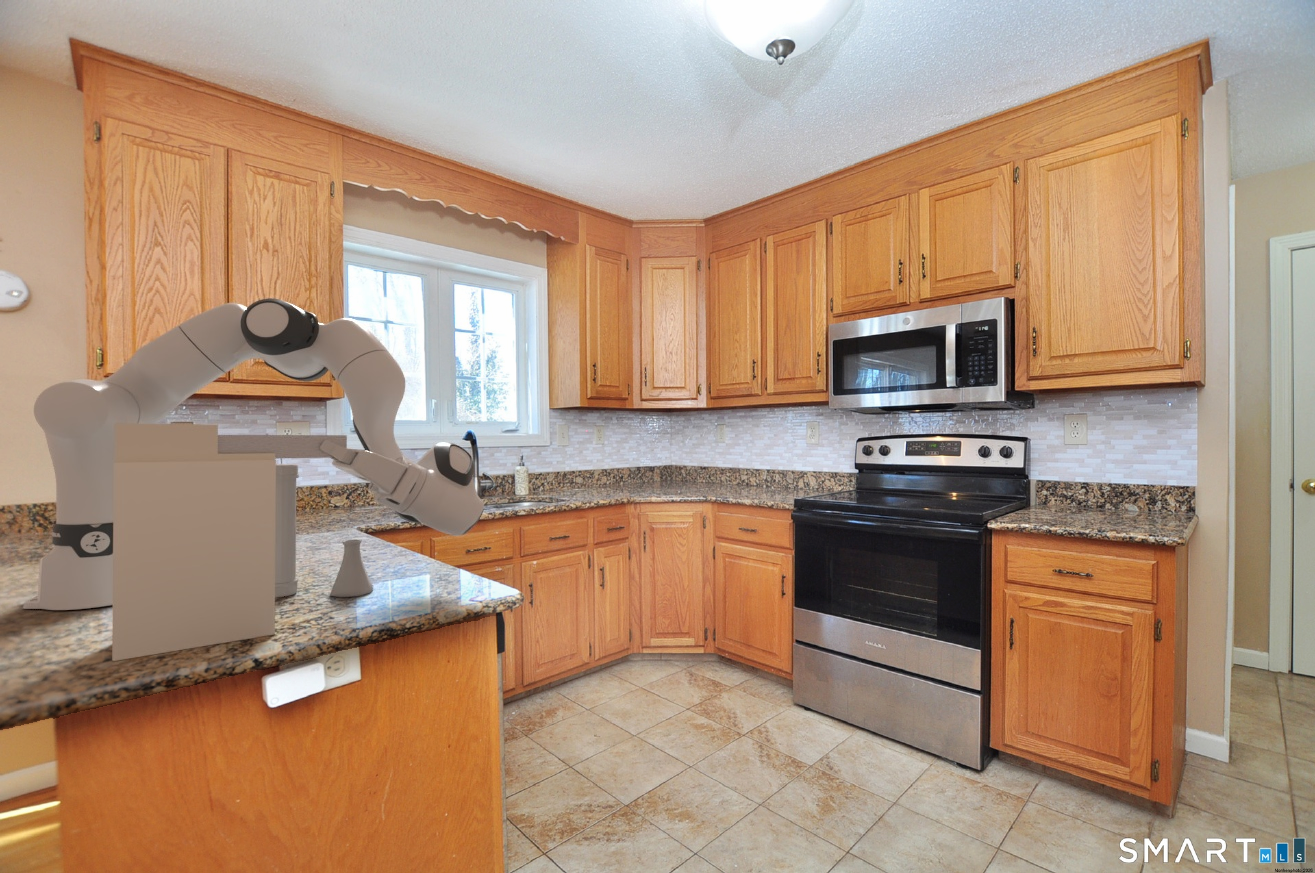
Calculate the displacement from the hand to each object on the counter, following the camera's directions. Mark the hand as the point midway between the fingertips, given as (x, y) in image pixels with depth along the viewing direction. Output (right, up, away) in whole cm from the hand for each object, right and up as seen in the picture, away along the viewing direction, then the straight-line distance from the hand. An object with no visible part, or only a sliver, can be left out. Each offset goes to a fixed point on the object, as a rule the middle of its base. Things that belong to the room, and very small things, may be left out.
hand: (318, 443), depth 97 cm
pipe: (-16, -29, +15) cm, 36 cm away
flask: (-3, -29, +16) cm, 33 cm away
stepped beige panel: (-12, -28, -9) cm, 32 cm away
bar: (-4, -2, -3) cm, 6 cm away
